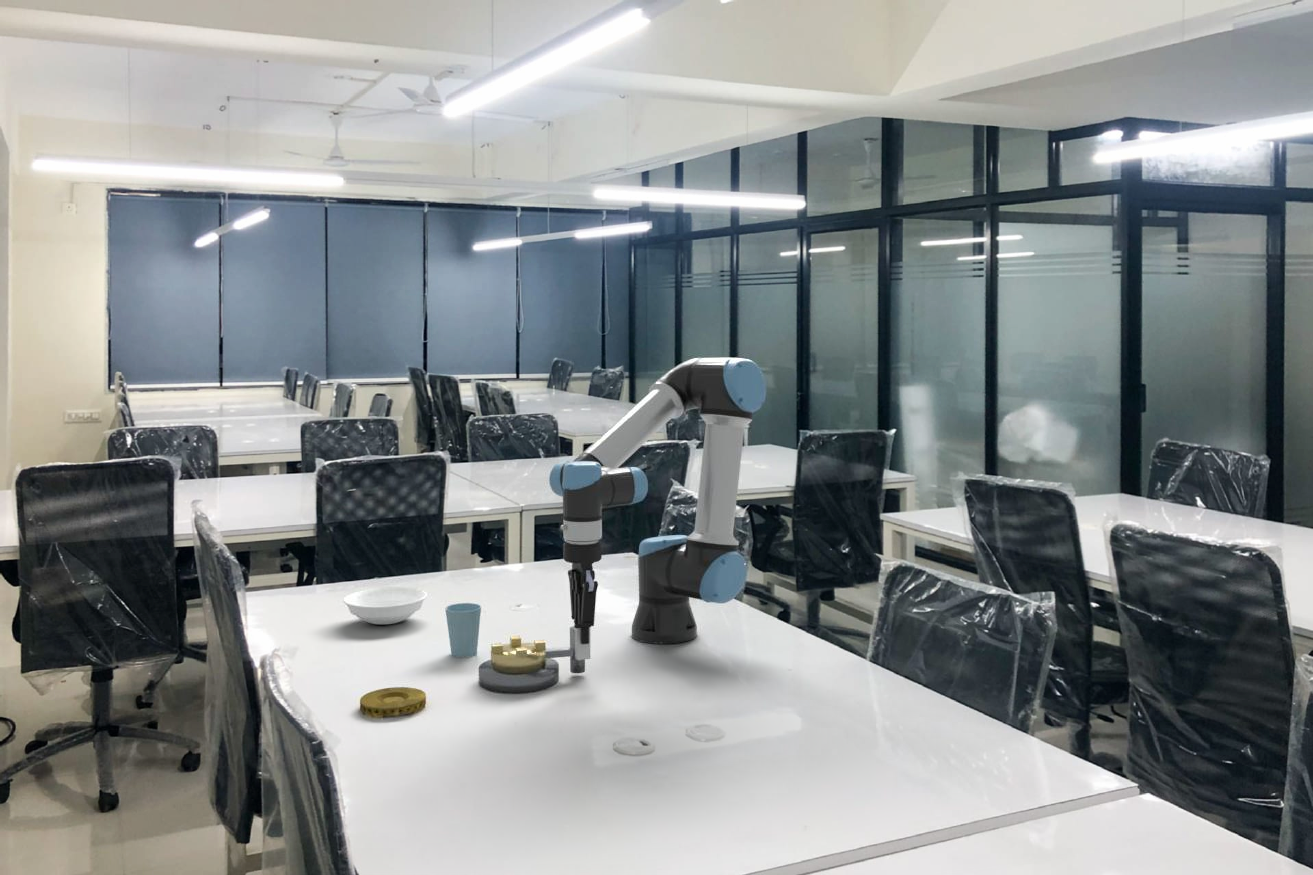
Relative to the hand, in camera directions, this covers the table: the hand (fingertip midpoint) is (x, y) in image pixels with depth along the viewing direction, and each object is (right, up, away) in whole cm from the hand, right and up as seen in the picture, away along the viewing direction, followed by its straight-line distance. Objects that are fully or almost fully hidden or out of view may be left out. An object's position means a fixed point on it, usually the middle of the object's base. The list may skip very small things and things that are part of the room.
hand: (582, 658), depth 213 cm
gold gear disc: (-35, -7, -11) cm, 37 cm away
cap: (-13, -5, +4) cm, 15 cm away
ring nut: (-9, -4, +5) cm, 11 cm away
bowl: (-51, -2, +49) cm, 71 cm away
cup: (-27, -4, +23) cm, 36 cm away
